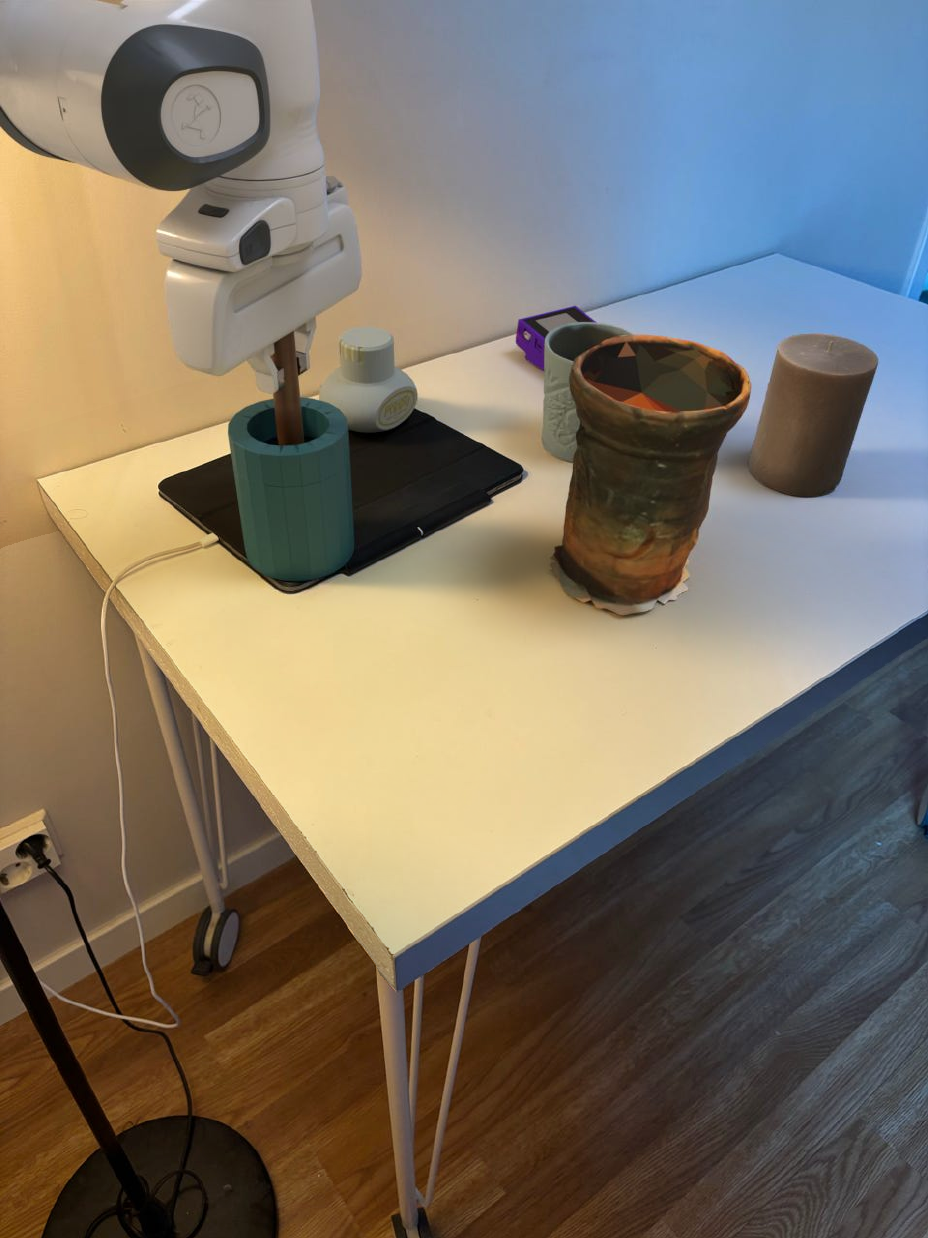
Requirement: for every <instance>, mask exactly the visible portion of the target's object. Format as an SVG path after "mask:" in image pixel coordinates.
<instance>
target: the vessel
mask: <svg viewBox="0 0 928 1238" xmlns="http://www.w3.org/2000/svg"><path fill="white" fill-rule="evenodd" d="M569 384H570V391H571V395H572V397H573V399H574V401H575V404H576V406H577V408H576V413H577V416H578V418H579V420H580V426H579V430H578V431H577V432H576V441H577V450H576V452H575V454H574V457H573V463H572V471H571V477H570V481H569V487H568V494H567V500H566V504H565V513H564V521H563V533H562V534H563V536H562V542H561V545H556V546H554V552H553V554H552V555H551V557H549V559H550V560H551V563H550V569H549V570H548V571H549V572H550V573H551V574H552V575H553V576H555V577H557V578H558V580H559V582H560V584H561V588H562V590H563V591H564V592H565V593H566V594H567V595H568V596H569V597H570V598H573V599H576V600H577V601H579V602H581V603H583V604H584V603H587V602H589V601H591V602H592V604H593V605H594V606H595V608H596V609H606V610H608V611H611V612H612V613H615V614H617V615H619V616H626V615H630V614H638V613H645V612H648V611H651V610H653V608H654V607H655V605H656V604H657V601H659V602H661V603H662V604H664V605H666V604H667V602H668V601H676V600H677V599H678V596H680V594H682V593H685V592H687V591H689V590H690V589H689V587H688V586H687V584H685V583H684V582H686V581H687V580H688V579H689V578H691V573H690V572H689V570H688V569H687V568H686V566H687V565H689V562H690V558H689V556H690V554H691V552H692V551H693V549H694V548H695V547H696V545H697V542H698V541H699V540H698V539H699V534H700V529H701V526H702V524H703V522H704V521H705V519H706V517H707V515H708V512H709V508H710V501H711V500H710V499H711V491H712V485H713V478H714V474H715V472H716V467H717V465H718V459H719V458H718V457H719V452H720V449H721V447H722V445H723V443H724V442H725V439H726V437H727V433H728V432H729V431H731V430H732V429H733V428H734V427H735V426H736V424H737V423H738V422H739V421H740V420H741V419H742V417H743V415H744V413H745V412H746V410H747V408H748V406H749V403H750V399H751V393H752V382H751V379H750V375H749V374H748V372H747V370H746V368H744V367H743V366H741V365H740V364H739V363H736V362H735V361H734V360H733V359H732V358H731V357H730V356H729V355H728V354H726V353H724V351H721V350H719V349H716V348H712V347H710V346H707V345H704V344H702V343H700V342H697V341H693V340H686V339H682V338H681V339H680V338H674V337H668V336H664V335H657V334H656V335H655V334H653V335H652V334H634V335H620V336H616V337H613V338H610V339H606V340H604V341H603V342H601V343H600V344H598V345H596V346H594V347H592V348H590V349H588V350H586V351H585V352H583V353H581V354H580V355H579V356H578V357H576V358H575V359H574V363H573V365H572V369H571V372H570V376H569Z"/></svg>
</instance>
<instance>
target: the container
mask: <svg viewBox="0 0 928 1238" xmlns="http://www.w3.org/2000/svg"><path fill="white" fill-rule="evenodd" d="M300 401H301V412H302V422H303V433H304V443H303V444H299V445H288V446H279V444H278V435H277V426H276V418H275V409H274V400H273V398H270V399H265V400H261V401H258V402H254V403H253V404H250V405H247V406H245V407H243V408H242V409H241V410H239V411H237V412H235V414H233V416H232V418H231V419H230V421H229V422H228V425H227V436H228V437H227V438H228V444H229V450H230V456H231V457H230V459H231V462H232V471H233V477H234V485H235V490H236V498H237V506H238V511H239V516H240V517H239V518H240V525H241V532H242V539H243V545H244V552H245V554H246V558H247V561H248V563H249V564H250V566H251V567H252V568H253V569H254V570H255V571H257V572H258V573H260V574H261V575H263V576H265V577H268V578H271V579H275V580H279V581H284V582H285V581H286V582H305V581H306V582H307V581H313V580H318V579H321V578H324V577H326V576H330V575H332V574H334V573H336V572H337V571H339V570H340V569H342V568H343V567H345V566H346V565H347V563H349V561H350V560H351V558H352V556H353V554H354V552H355V551H354V550H355V531H354V512H353V495H352V494H353V493H352V492H353V491H352V475H351V474H352V473H351V455H350V440H349V439H350V437H349V430H348V423H347V418H346V416H345V415H344V414H343V413H342V412H341V410H340V409H338V408H337V407H335V406H333V405H331V404H330V403H327V402H323V401H320V400H319V399H317V398H311V397H304V396H303V397H302V396H300Z"/></svg>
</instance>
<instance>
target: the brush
mask: <svg viewBox="0 0 928 1238" xmlns="http://www.w3.org/2000/svg"><path fill="white" fill-rule="evenodd" d="M270 357H271V359H272V361H273V363H274V365H275V366H279V367H282V368H284V380H285V385H284V387H282V388H281V389H280V390H278V391H277V392H275V393H274V394H272V399H273V400H274V409H275V418H276V426H277V435H278V444H279V446H288V445H299V444H303V443H304V433H303V422H302V412H301V401H300V397H301V390H300V380H299V379H300V378H299V376H298V368H297V357H296V346H295V335H294V331H292V332H291V333H289V334H287V335H286V336H284V337H283V338H281V339H280V340H278V341H276V342H275V343H274V354H273V355H270Z"/></svg>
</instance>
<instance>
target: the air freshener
mask: <svg viewBox="0 0 928 1238" xmlns="http://www.w3.org/2000/svg"><path fill="white" fill-rule="evenodd" d="M338 351H339V367H337V368H336V369H334V370H333V371H332V372H330V373H329V375H327V376H326V377H325V379H324V381H322V383H321V385H320V387H319V391H318V400H320V401H323V402H327V403H330V404H331V405H333V406H335V407H337V408H338V409H340V410H341V412H342V413H343V414H344V415H345V416H346V418H347V423H348V431H353V432H356V433H363V434H364V433H366V434H372V433H374V434H375V433H383V432H386V431H389V430H391V429H395V428H396V427H398V426H399V425H401V424H402V423H403V422H405V421H406V420H407V419H408V418H409V416H411V414H412V413H413V411H414V409H415V407H416V406H417V404H418V397H419V394H418V389H417V386H416V385H415V382H414V380H413V379H412V378H411V377H410V376H409V374H407V373H406V372H405V371H404V370H402V369H401V368H399V367H397V366H395V338H394V336H393V334H391V333H390V332H389V330H386V329H384V328H382V327H379V326H373V325H372V326H371V325H365V326H363V325H362V326H355V327H351V328H349V329H346V330H344V332H342V334H340V336H339V338H338Z"/></svg>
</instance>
